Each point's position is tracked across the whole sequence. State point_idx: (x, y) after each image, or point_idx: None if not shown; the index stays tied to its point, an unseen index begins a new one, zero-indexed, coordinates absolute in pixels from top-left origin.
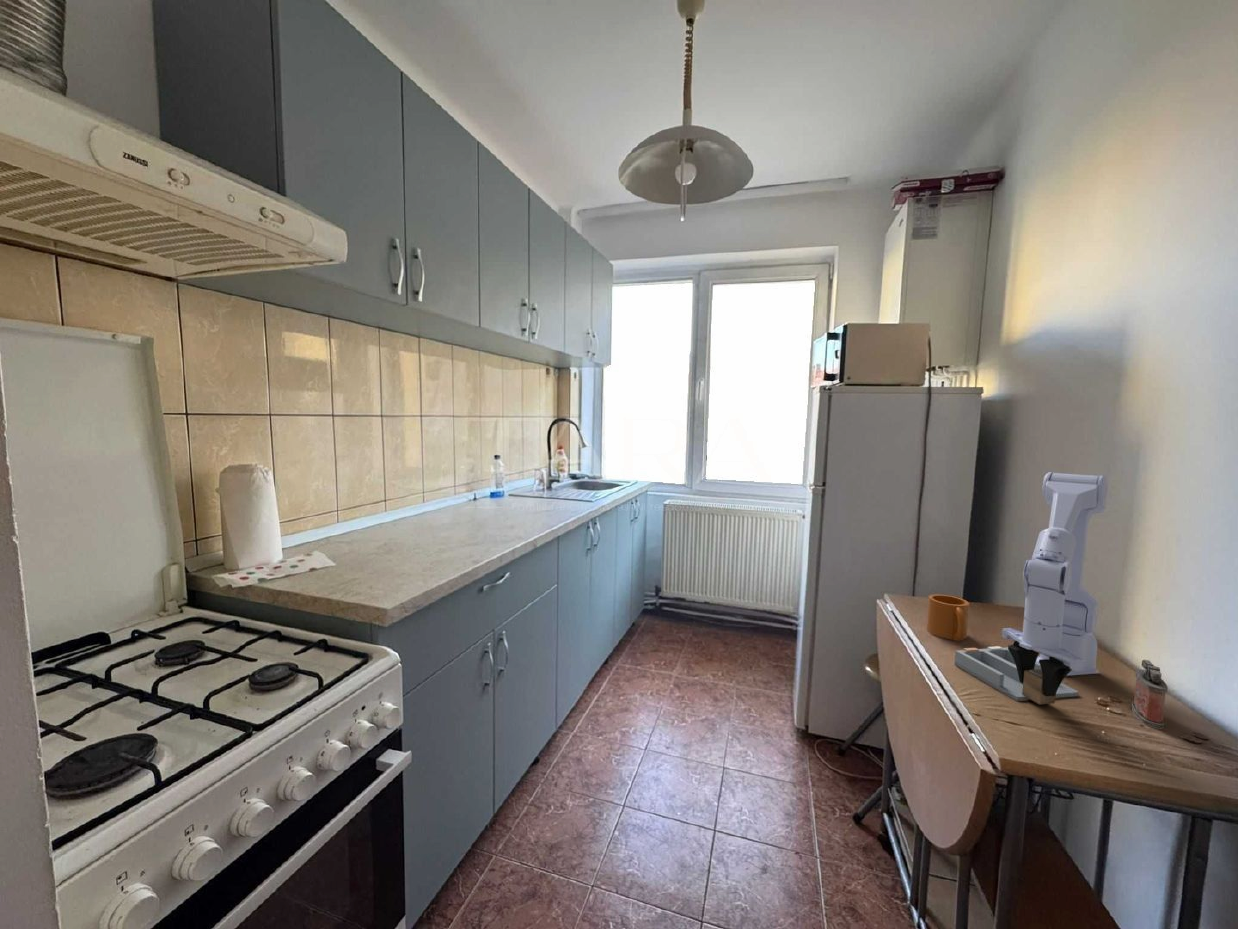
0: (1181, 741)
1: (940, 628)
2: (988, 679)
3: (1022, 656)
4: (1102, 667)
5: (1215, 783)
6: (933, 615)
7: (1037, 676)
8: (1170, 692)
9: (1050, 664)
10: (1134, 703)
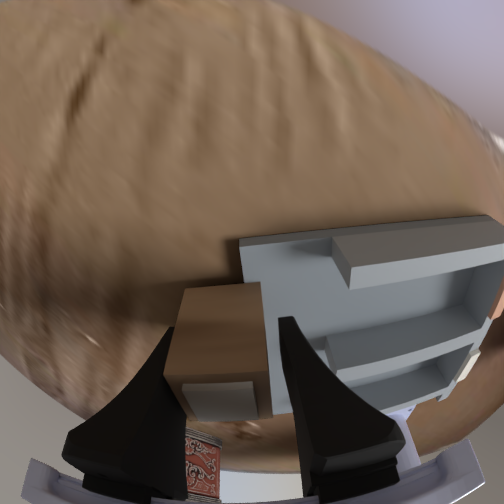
0: None
1: None
2: (383, 233)
3: (304, 436)
4: None
5: (5, 353)
6: None
7: (194, 378)
8: (265, 472)
9: (62, 456)
10: (206, 447)
